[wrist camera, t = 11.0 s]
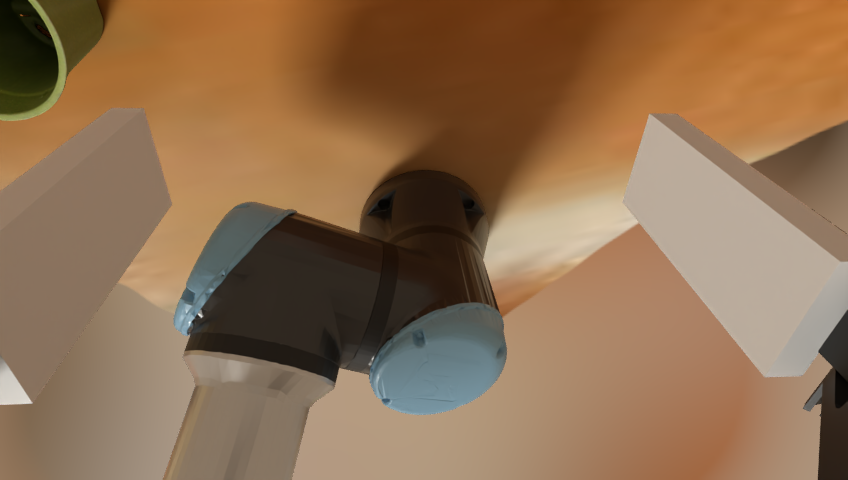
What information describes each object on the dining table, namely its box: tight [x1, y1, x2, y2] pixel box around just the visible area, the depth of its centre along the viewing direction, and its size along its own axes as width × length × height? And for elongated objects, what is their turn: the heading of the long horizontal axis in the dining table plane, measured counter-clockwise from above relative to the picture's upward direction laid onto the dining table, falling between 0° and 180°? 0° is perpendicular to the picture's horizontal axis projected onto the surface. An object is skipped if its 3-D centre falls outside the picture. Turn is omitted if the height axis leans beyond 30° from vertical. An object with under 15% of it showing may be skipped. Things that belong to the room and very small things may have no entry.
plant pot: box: [0, 0, 103, 121], centre depth 38 cm, size 12×12×11 cm
